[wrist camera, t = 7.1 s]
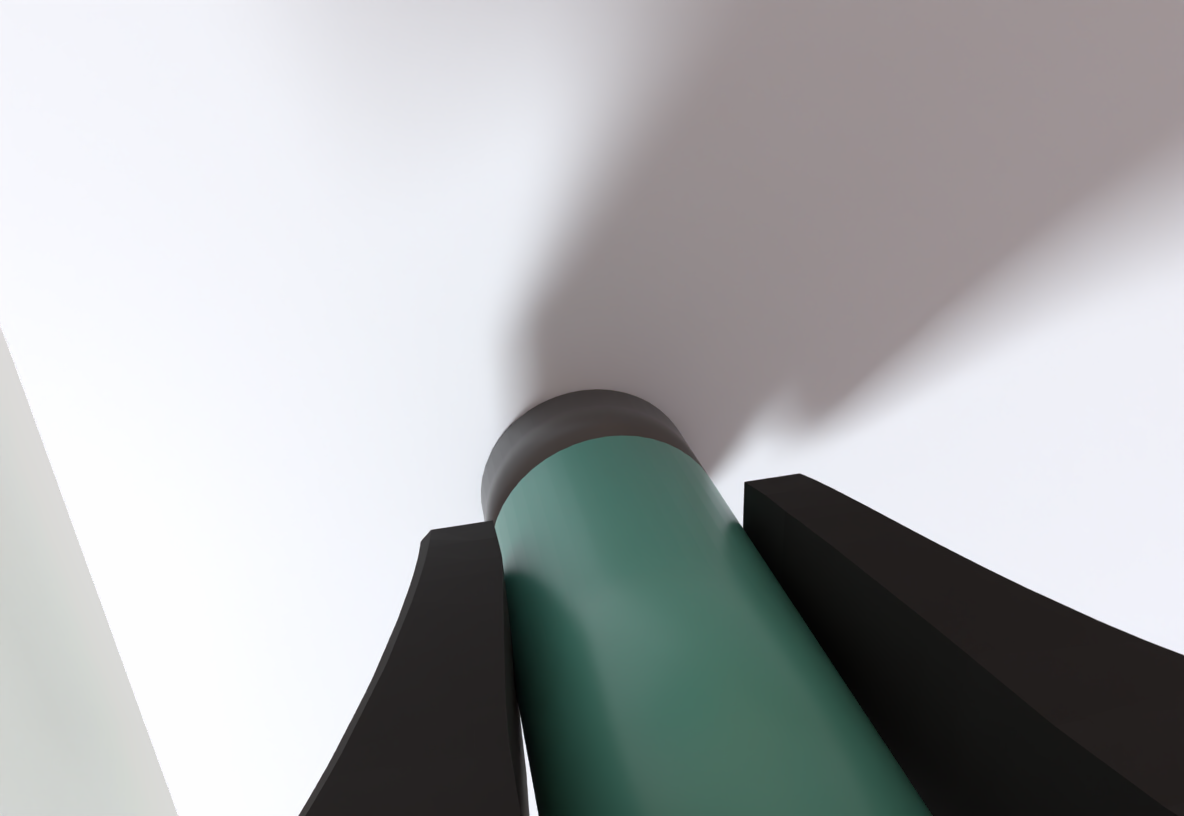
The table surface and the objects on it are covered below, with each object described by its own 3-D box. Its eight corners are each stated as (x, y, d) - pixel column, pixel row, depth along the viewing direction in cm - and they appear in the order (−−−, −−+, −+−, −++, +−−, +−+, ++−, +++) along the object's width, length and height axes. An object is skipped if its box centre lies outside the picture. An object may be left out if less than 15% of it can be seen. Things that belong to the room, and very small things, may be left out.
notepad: (1572, -111, 10) (1603, -114, 10) (1279, 670, 16) (1294, 682, 15) (-112, -33, 8) (-130, -32, 7) (218, 893, 13) (213, 912, 13)
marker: (691, 377, 10) (1332, 1193, 3) (690, 558, 12) (1166, 1457, 4) (469, 404, 10) (670, 1405, 3) (490, 590, 11) (672, 1635, 4)
